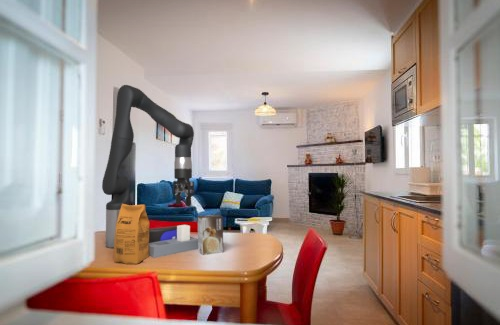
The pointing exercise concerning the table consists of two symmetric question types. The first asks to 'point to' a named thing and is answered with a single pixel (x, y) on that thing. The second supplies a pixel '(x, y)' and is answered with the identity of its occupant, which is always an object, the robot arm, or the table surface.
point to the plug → (183, 233)
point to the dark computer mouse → (162, 234)
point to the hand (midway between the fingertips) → (183, 205)
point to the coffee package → (131, 235)
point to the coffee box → (210, 234)
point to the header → (171, 247)
